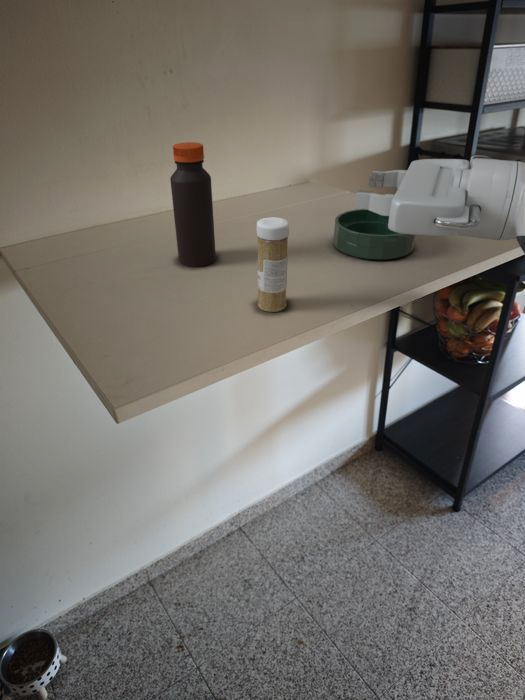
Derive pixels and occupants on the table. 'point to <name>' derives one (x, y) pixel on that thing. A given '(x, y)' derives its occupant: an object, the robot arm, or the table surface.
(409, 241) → the green faceted bowl
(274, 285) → the sprinkles bottle
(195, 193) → the vinegar
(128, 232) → the table surface
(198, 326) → the table surface
